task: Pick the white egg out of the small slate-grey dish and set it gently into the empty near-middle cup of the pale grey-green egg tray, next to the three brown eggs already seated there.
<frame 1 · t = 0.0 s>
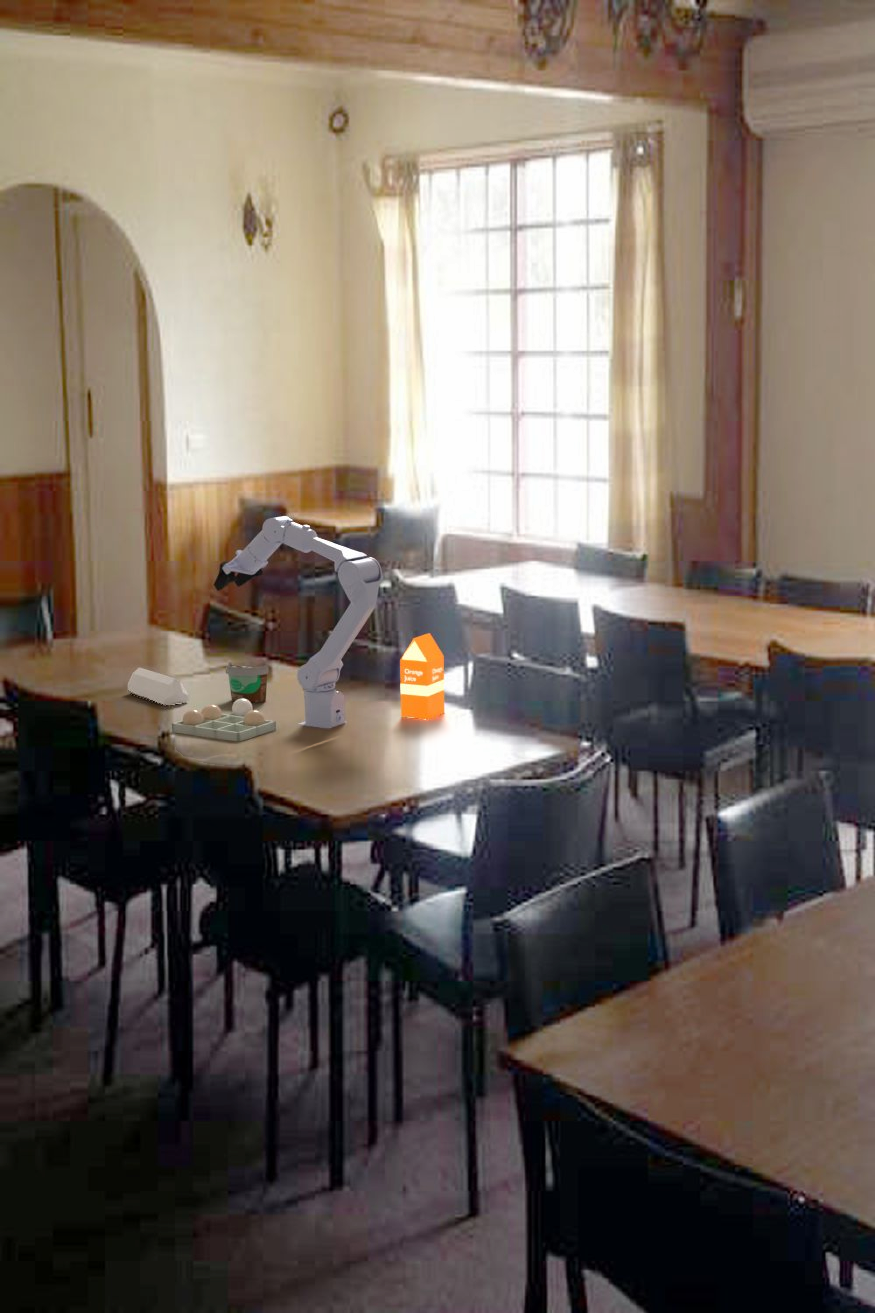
hand: (226, 585, 407), 32 cm above the table, tool tilted 50°, fingers open, 7 cm apart
dish: (242, 720, 404), on the table
orange juice: (423, 716, 407), on the table
white trapezoid ingot: (158, 700, 431), on the table
food container: (243, 704, 423), on the table
brown egg a: (254, 730, 390), point 1 cm above the table, touching egg tray
egg tray: (224, 733, 391), on the table
white egg: (242, 718, 404), resting on dish
brown egg c: (193, 730, 392), point 1 cm above the table, touching egg tray
brown egg b: (211, 724, 397), point 1 cm above the table, touching egg tray
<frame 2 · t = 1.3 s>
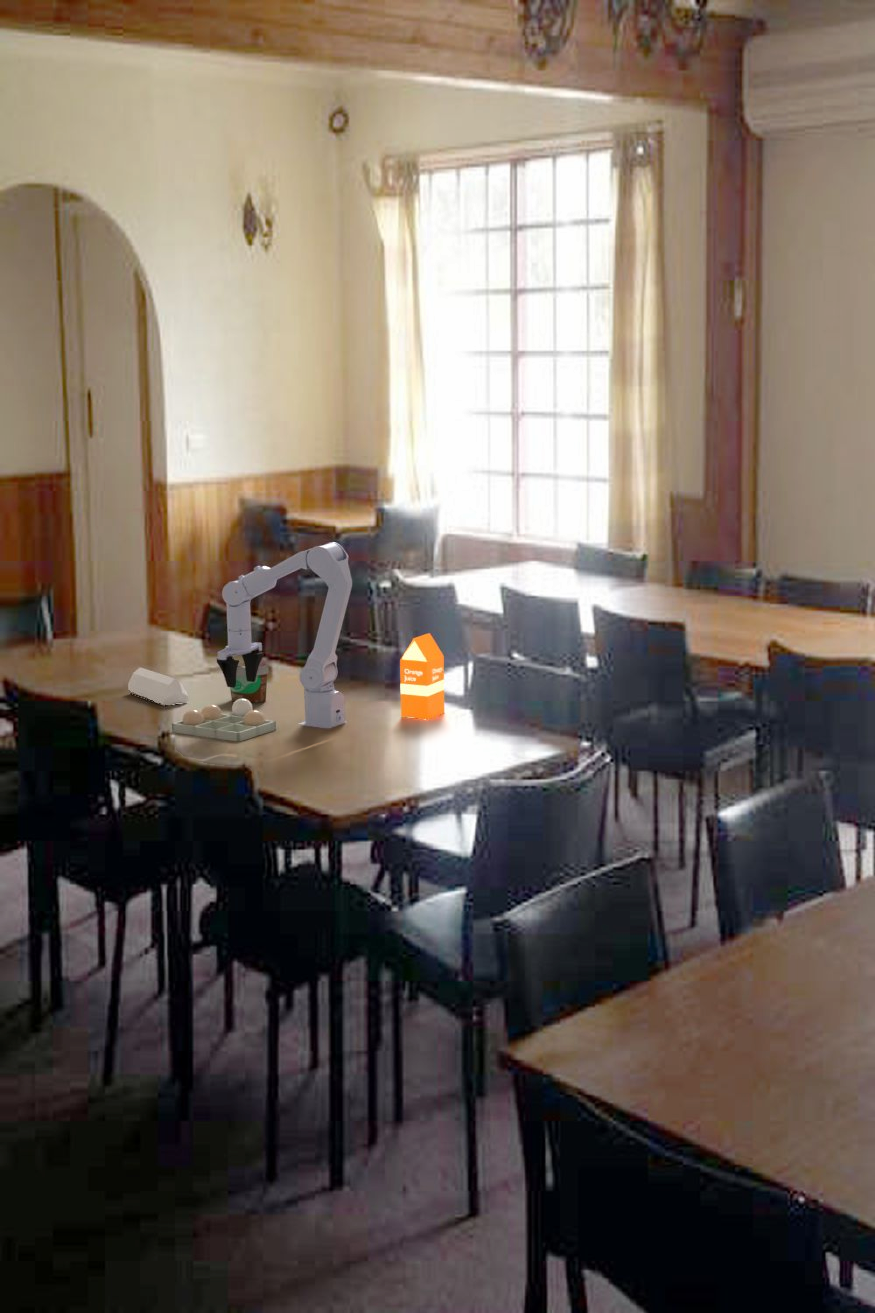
hand: (241, 684, 403), 9 cm above the table, tool pointing down, fingers open, 7 cm apart
nothing on the table moved.
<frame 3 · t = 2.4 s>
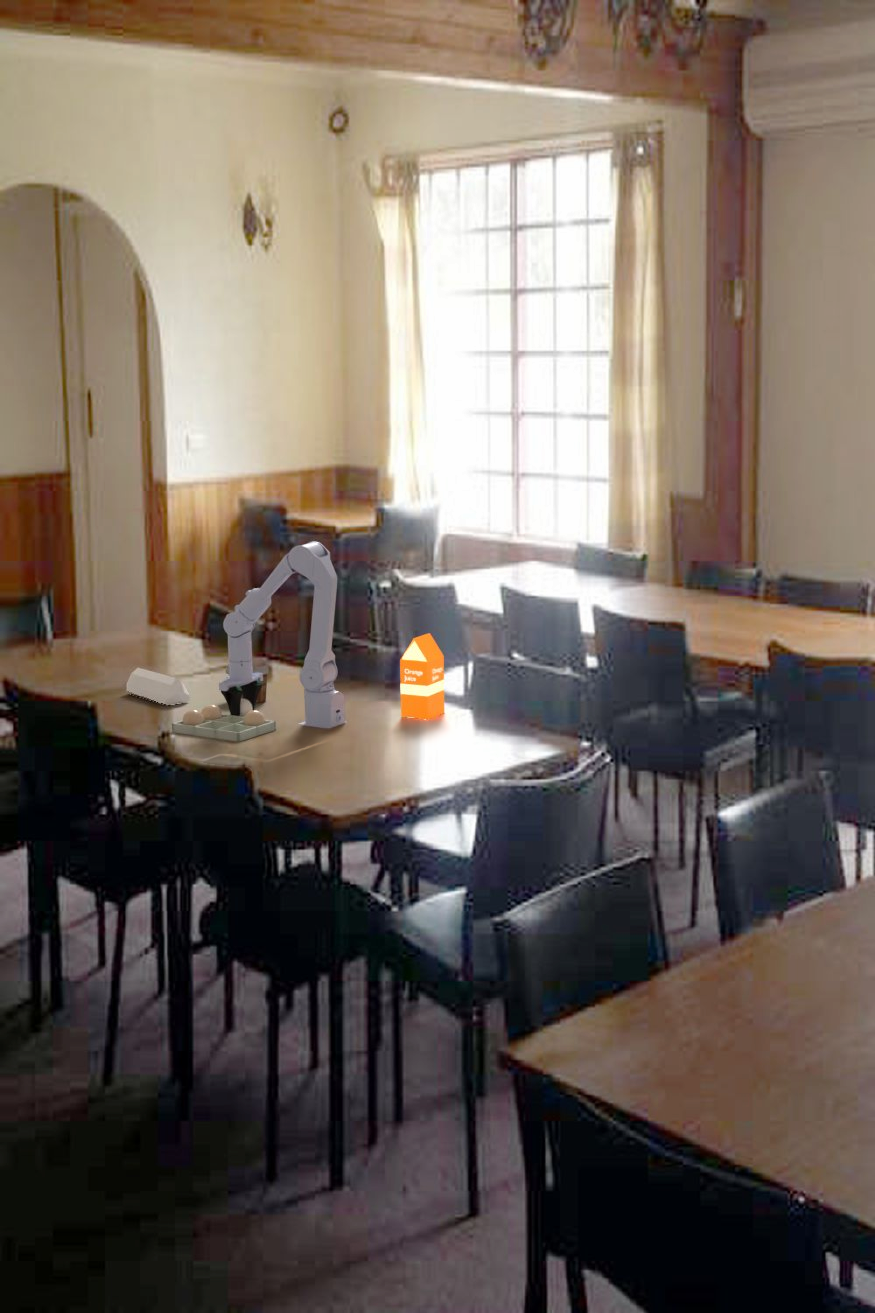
hand: (242, 714, 404), 1 cm above the table, tool pointing down, fingers closed on white egg, 5 cm apart
white egg: (242, 718, 404), resting on dish, touching gripper
everything else where it was.
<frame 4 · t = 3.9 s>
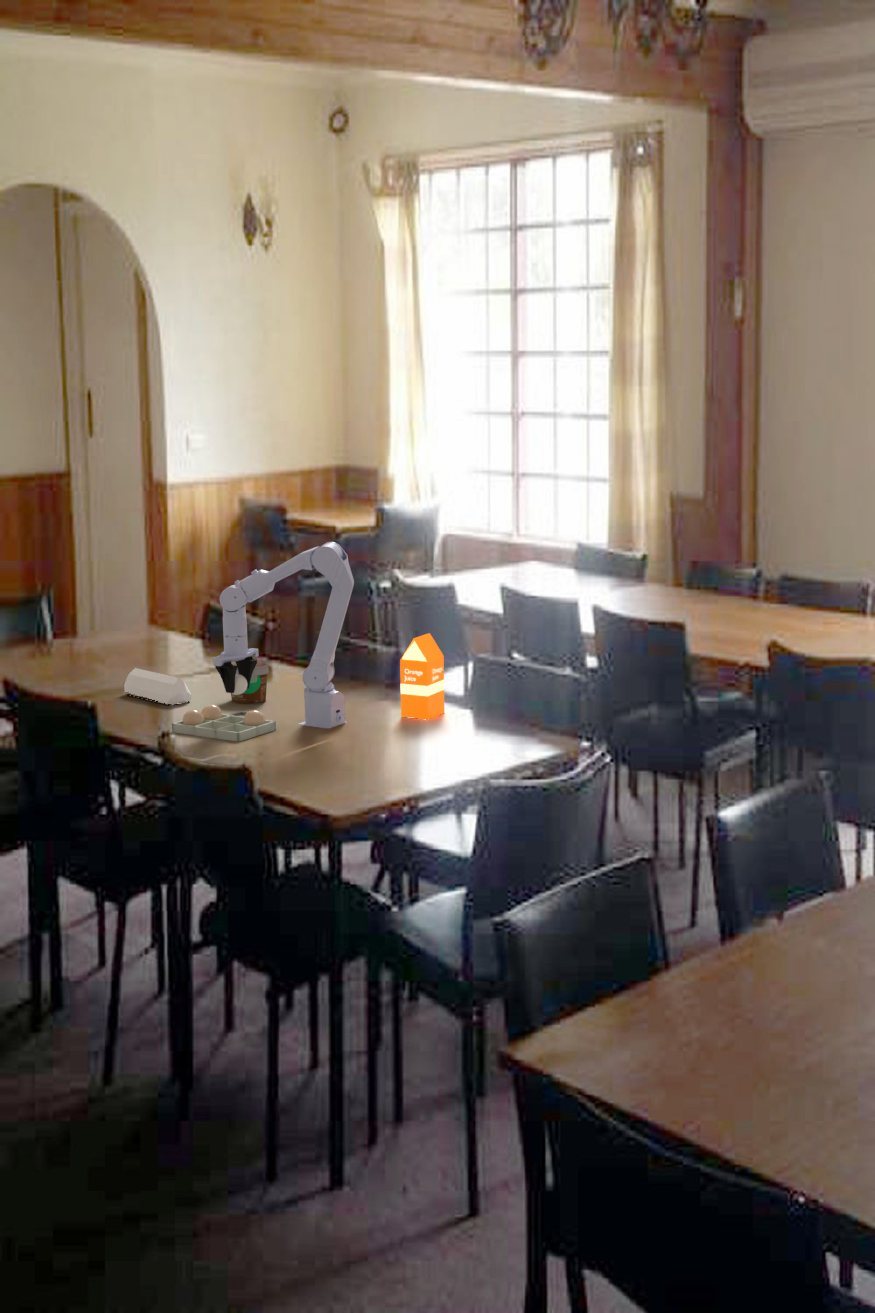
hand: (237, 690, 398), 8 cm above the table, tool pointing down, fingers closed on white egg, 5 cm apart
white egg: (237, 694, 399), point 7 cm above the table, touching gripper
everything else where it was.
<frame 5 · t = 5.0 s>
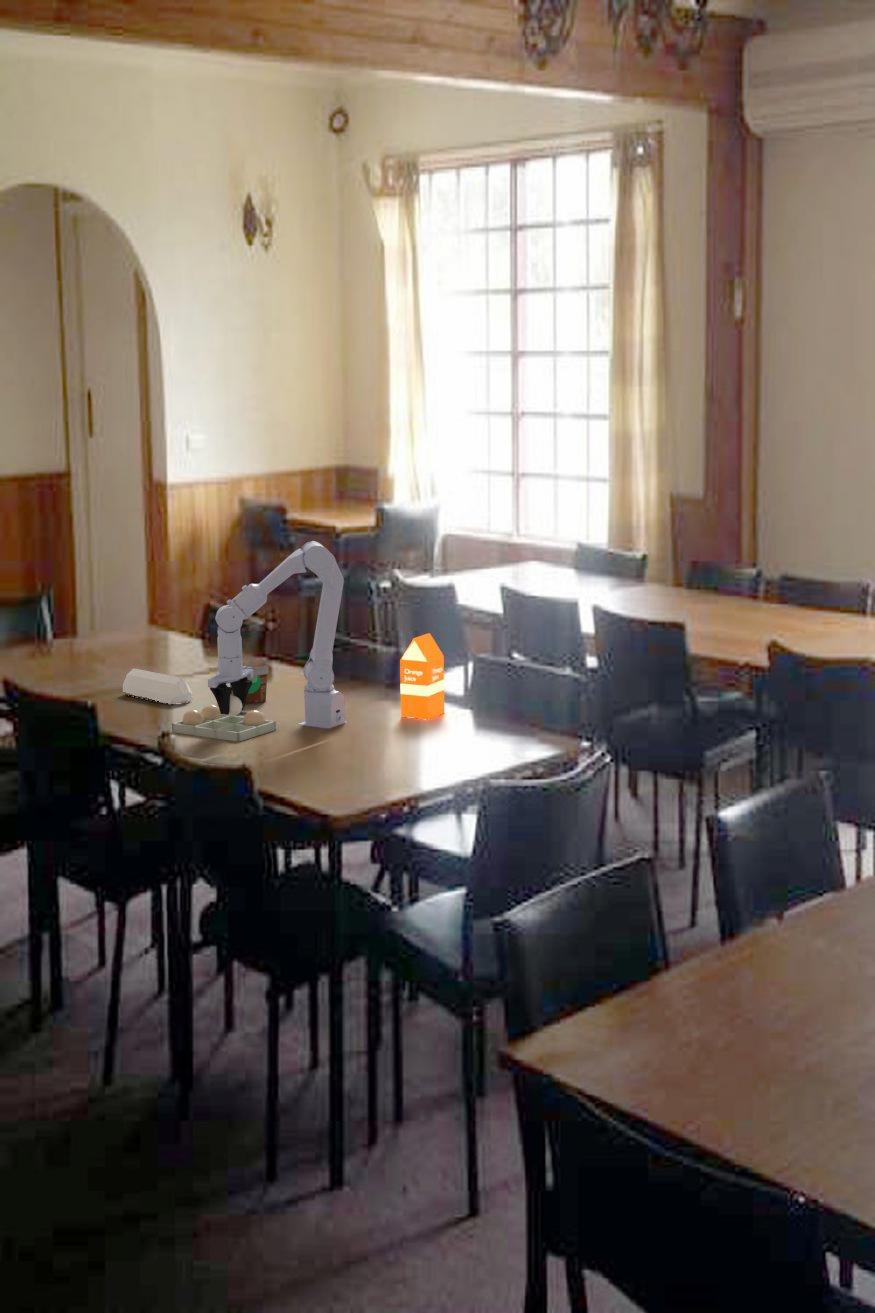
hand: (232, 712, 393), 4 cm above the table, tool pointing down, fingers closed on white egg, 5 cm apart
white egg: (232, 716, 393), point 3 cm above the table, touching gripper
when the fingers open (3 cm above the table, at t = 5.7 s): white egg drops 2 cm, resting on egg tray.
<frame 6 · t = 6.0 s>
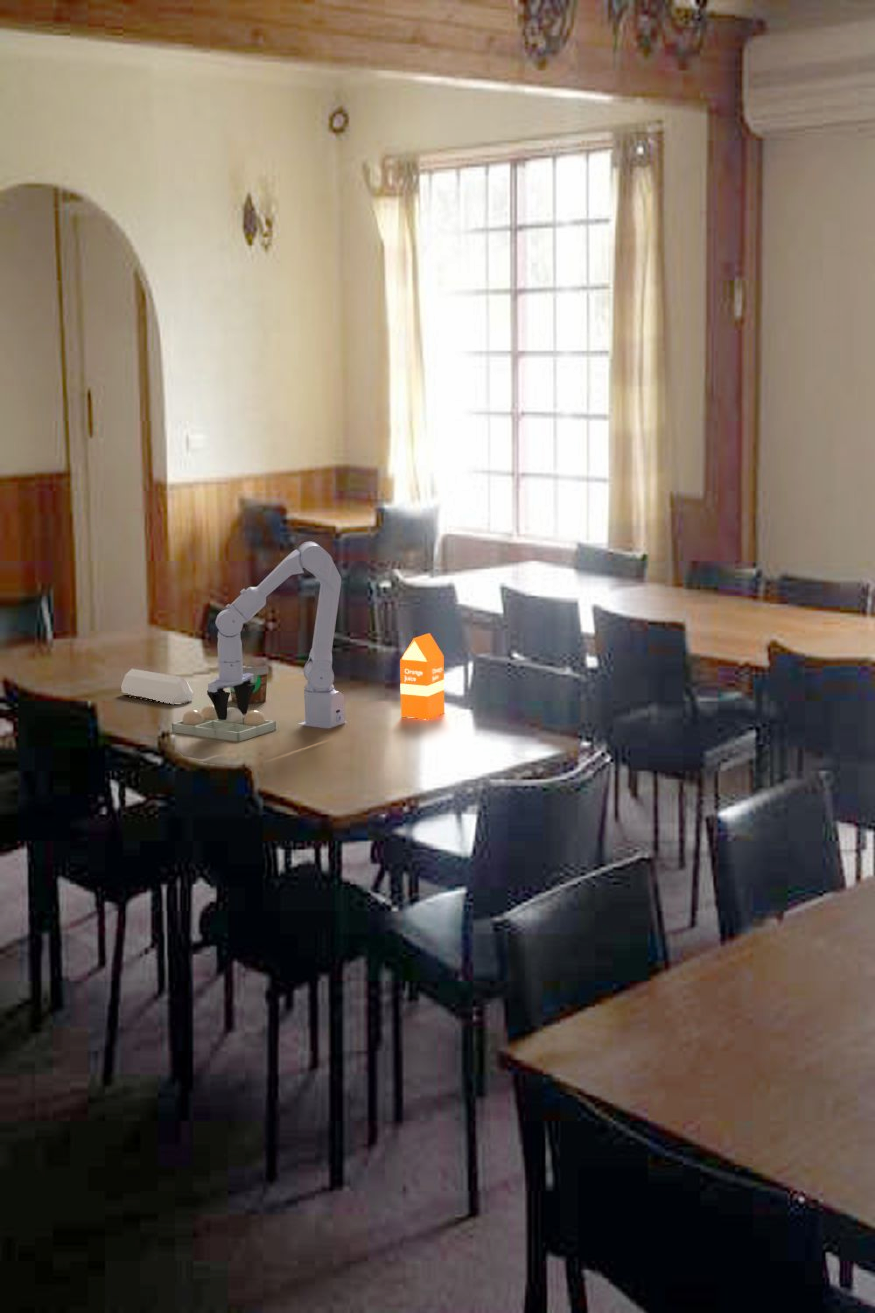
hand: (232, 716, 393), 3 cm above the table, tool pointing down, fingers open, 7 cm apart
white egg: (232, 727, 394), point 1 cm above the table, touching egg tray
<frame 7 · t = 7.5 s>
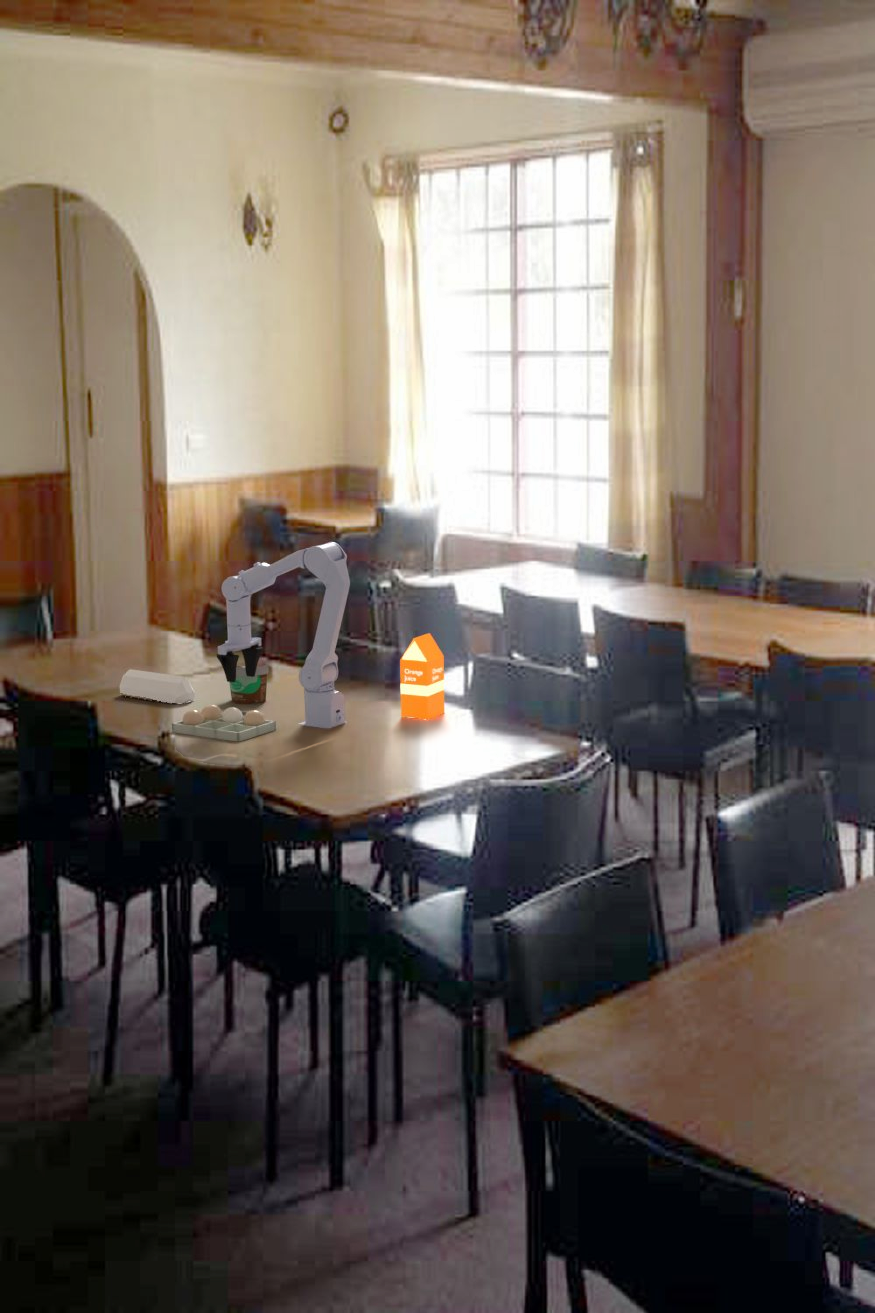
hand: (241, 679, 404), 10 cm above the table, tool pointing down, fingers open, 7 cm apart
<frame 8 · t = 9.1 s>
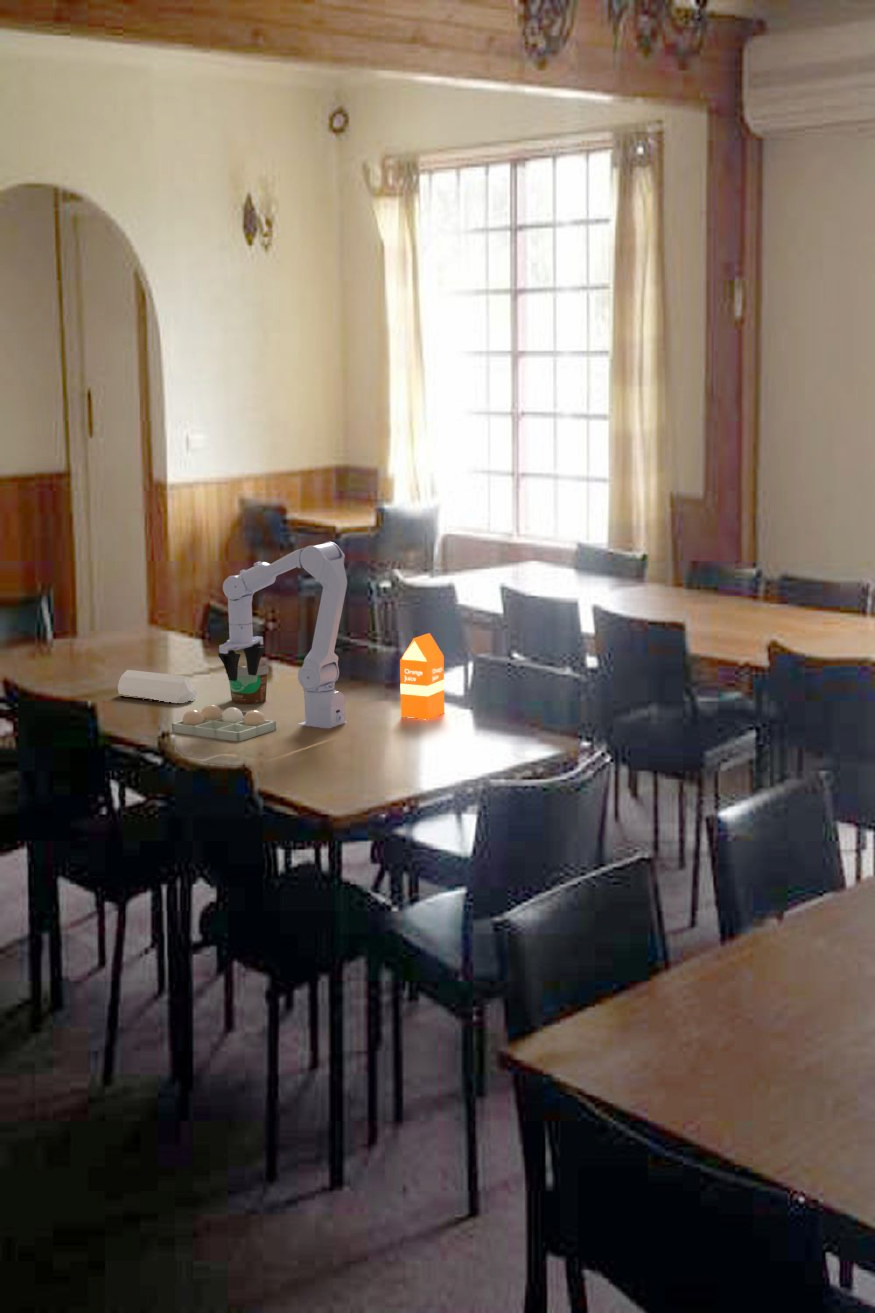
hand: (242, 677, 406), 10 cm above the table, tool pointing down, fingers open, 7 cm apart
at the end: white egg 0.1 cm from the target spot on the egg tray, point 0.6 cm above the egg tray's base; the gripper is holding nothing; brown egg b 0.0 cm from the target spot on the egg tray, point 0.6 cm above the egg tray's base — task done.
